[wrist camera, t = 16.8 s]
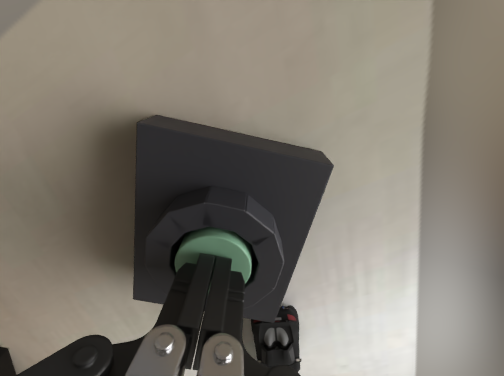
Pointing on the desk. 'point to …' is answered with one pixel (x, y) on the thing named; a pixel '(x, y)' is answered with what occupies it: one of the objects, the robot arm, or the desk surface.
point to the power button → (216, 249)
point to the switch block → (222, 204)
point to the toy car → (278, 339)
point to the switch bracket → (6, 363)
